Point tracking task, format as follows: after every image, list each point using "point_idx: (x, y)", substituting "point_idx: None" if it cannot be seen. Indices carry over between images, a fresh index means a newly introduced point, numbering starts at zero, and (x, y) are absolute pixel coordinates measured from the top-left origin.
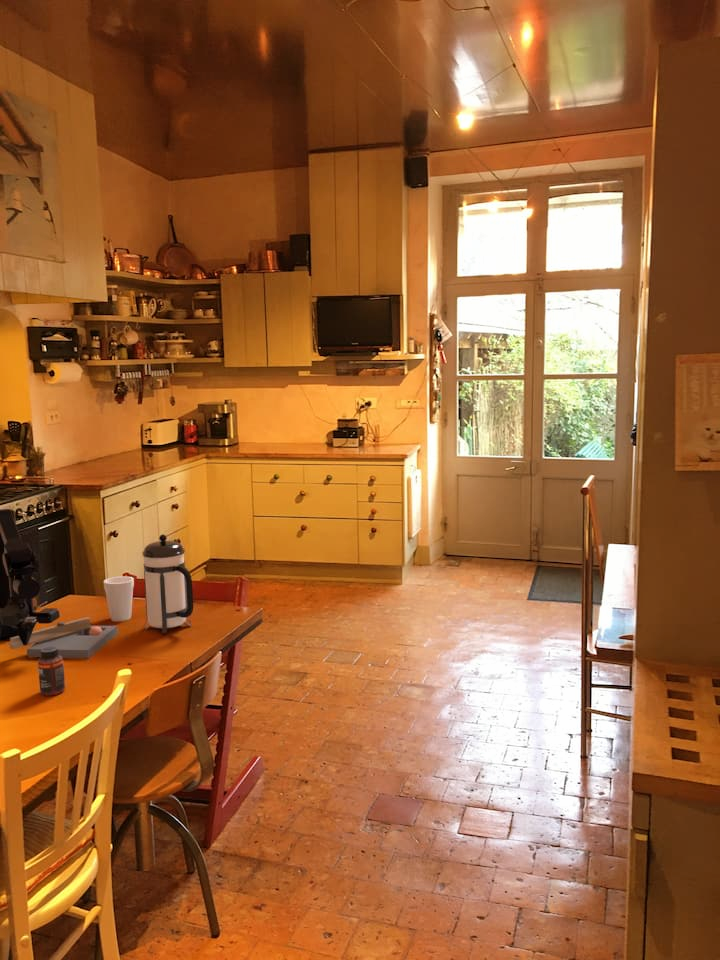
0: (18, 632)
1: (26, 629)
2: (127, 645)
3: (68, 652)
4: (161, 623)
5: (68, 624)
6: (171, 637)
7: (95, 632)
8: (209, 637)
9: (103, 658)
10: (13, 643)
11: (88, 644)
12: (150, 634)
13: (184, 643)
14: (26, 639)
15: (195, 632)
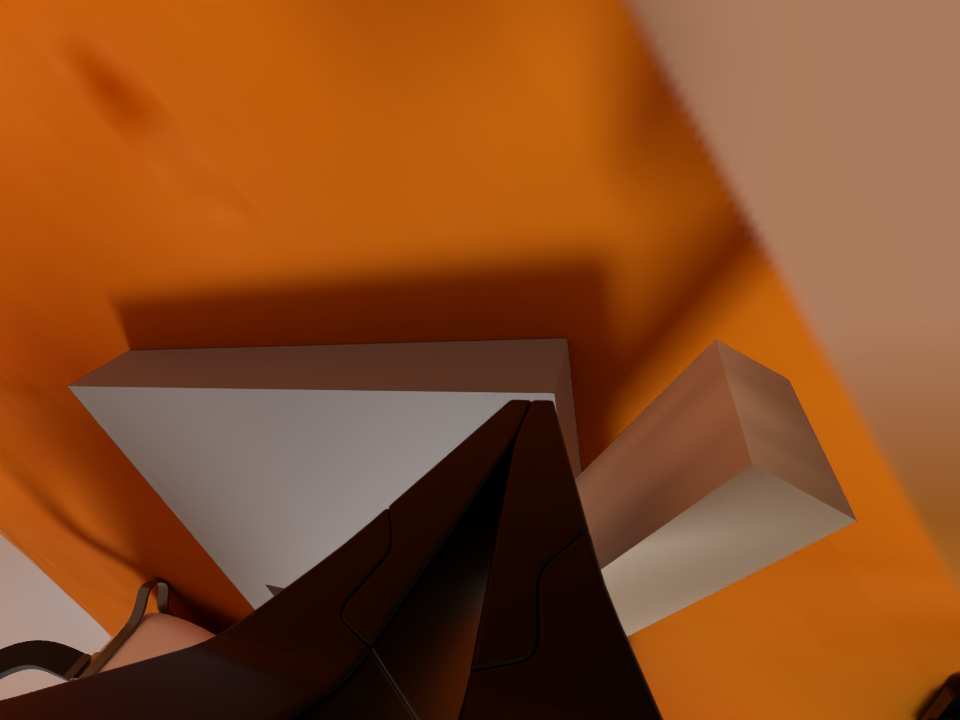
0: (556, 587)
1: (292, 628)
2: (161, 507)
3: (196, 373)
4: (137, 632)
5: None
6: (116, 556)
7: None
8: (30, 539)
9: (70, 357)
10: (720, 408)
11: (168, 474)
12: (204, 590)
13: (25, 504)
14: (454, 450)
15: (105, 579)
